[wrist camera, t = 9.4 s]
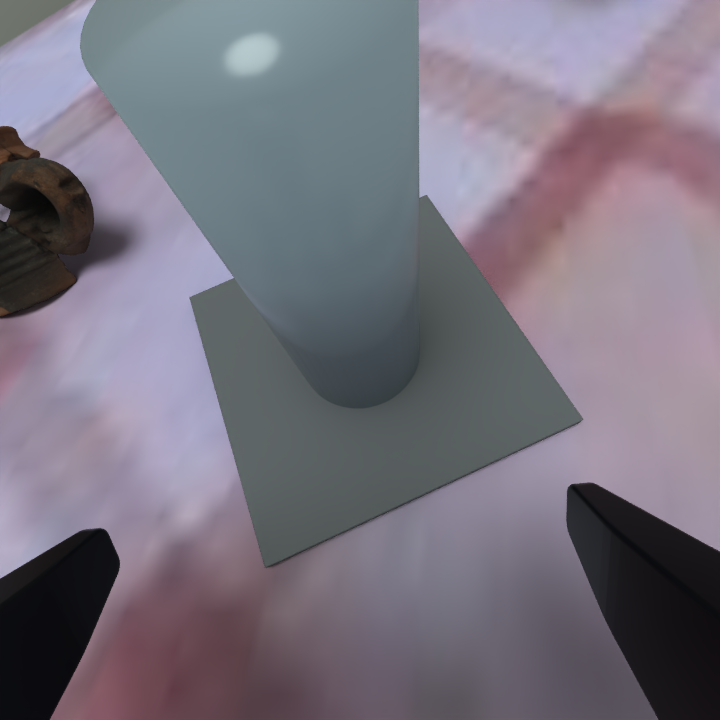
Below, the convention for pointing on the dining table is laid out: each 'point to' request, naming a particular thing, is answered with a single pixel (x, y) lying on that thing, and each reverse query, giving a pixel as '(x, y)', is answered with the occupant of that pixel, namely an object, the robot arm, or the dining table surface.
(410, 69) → the tumbler
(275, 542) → the coaster mat
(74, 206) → the brown black curved piece
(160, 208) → the dining table surface
